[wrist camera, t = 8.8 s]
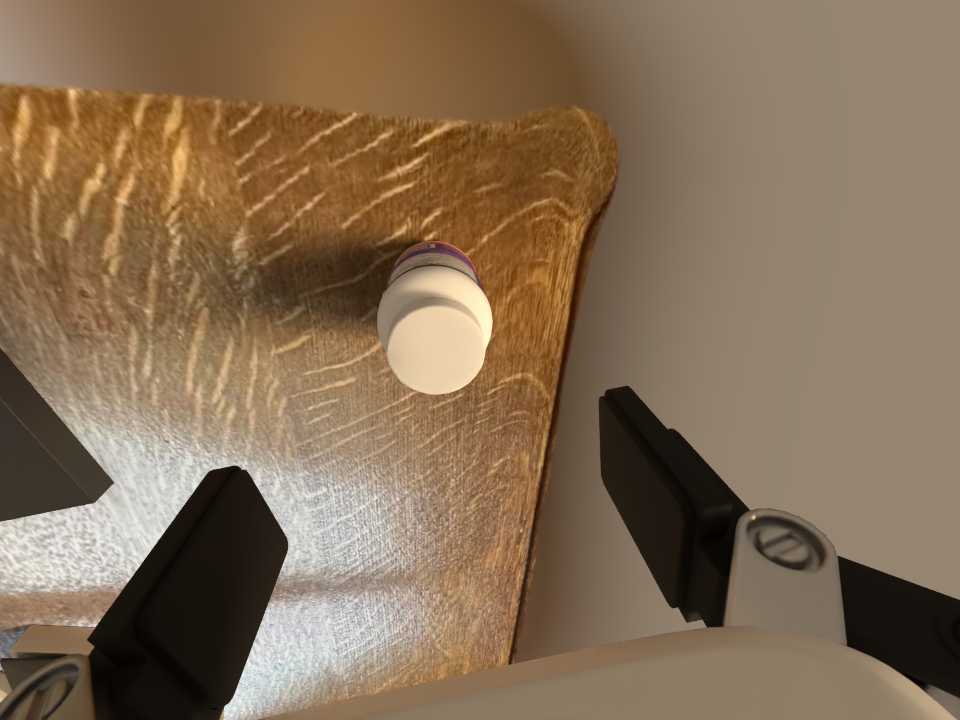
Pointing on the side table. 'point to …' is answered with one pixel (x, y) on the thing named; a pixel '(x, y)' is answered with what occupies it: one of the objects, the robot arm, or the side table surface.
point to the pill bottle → (434, 319)
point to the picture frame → (45, 650)
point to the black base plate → (40, 454)
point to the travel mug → (4, 686)
